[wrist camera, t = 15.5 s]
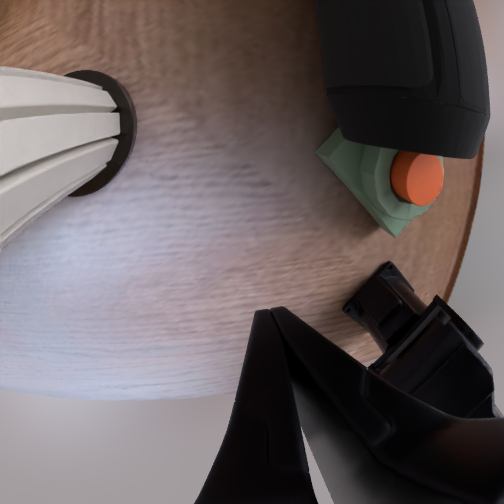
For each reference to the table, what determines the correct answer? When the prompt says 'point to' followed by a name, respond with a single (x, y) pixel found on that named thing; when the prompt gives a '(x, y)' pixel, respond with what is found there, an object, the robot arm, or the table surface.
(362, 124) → the portable speaker
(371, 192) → the button block
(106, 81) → the stand
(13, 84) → the white fluted hollow cylinder
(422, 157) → the button
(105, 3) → the table surface
